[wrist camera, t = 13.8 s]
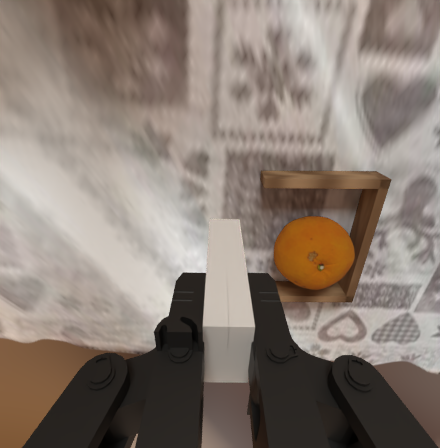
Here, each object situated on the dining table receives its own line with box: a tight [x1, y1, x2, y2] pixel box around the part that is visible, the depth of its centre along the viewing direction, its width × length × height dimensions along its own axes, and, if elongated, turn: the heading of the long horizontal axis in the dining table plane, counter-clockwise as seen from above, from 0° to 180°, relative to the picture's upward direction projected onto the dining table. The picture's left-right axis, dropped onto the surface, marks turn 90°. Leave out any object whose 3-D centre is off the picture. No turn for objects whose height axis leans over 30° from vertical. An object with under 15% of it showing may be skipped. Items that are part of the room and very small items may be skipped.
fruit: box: [274, 216, 355, 290], centre depth 36 cm, size 10×10×8 cm
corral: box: [260, 171, 391, 302], centre depth 38 cm, size 15×20×4 cm
